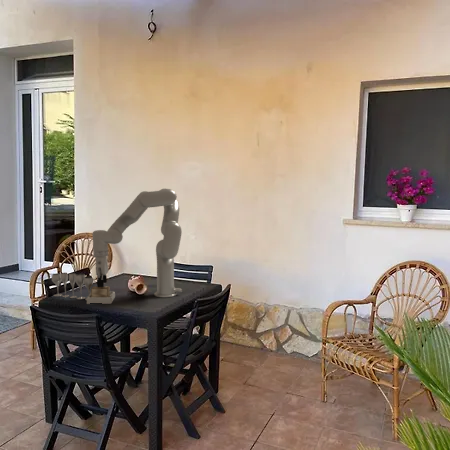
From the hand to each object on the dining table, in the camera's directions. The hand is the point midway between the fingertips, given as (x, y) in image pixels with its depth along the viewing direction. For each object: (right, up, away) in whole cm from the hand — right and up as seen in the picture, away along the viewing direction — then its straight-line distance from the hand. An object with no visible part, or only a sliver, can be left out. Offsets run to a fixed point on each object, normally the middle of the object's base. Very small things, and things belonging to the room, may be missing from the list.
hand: (102, 284), depth 245 cm
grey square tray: (-1, -9, +1) cm, 9 cm away
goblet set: (-18, -8, +6) cm, 20 cm away
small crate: (-1, -8, 0) cm, 8 cm away
